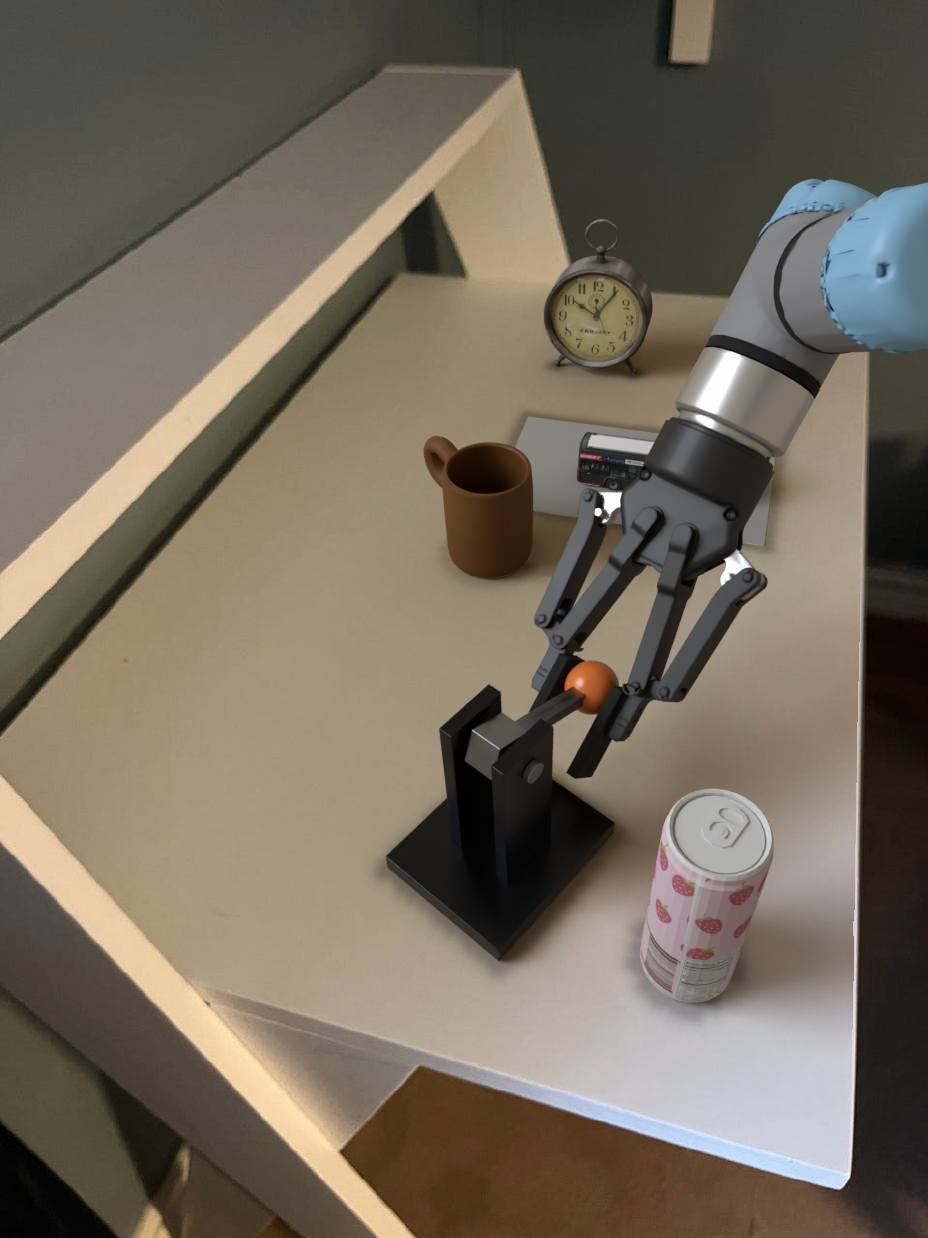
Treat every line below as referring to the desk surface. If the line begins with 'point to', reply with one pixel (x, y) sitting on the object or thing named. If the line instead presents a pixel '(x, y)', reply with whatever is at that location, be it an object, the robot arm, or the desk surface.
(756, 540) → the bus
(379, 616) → the desk surface
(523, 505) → the mug
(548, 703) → the switch lever
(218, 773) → the desk surface
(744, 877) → the beverage can
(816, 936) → the desk surface
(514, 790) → the switch bracket
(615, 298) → the alarm clock
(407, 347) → the desk surface
